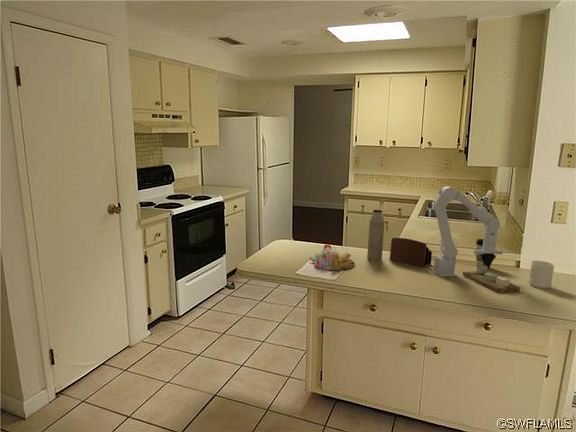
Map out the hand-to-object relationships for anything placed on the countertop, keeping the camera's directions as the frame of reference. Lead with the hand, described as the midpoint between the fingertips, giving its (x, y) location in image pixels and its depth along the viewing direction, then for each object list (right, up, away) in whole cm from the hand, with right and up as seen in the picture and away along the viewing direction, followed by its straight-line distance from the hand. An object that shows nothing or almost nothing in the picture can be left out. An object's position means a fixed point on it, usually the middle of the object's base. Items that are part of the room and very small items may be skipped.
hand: (486, 268), depth 196 cm
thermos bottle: (-49, +1, +27) cm, 56 cm away
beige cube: (-1, -6, -16) cm, 17 cm away
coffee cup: (+7, -2, +19) cm, 21 cm away
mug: (+20, -7, -8) cm, 23 cm away
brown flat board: (-2, -6, -8) cm, 10 cm away
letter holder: (-31, 0, +23) cm, 38 cm away
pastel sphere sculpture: (-75, 0, +15) cm, 77 cm away
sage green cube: (-2, -5, -8) cm, 10 cm away
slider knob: (-3, -2, 0) cm, 3 cm away
